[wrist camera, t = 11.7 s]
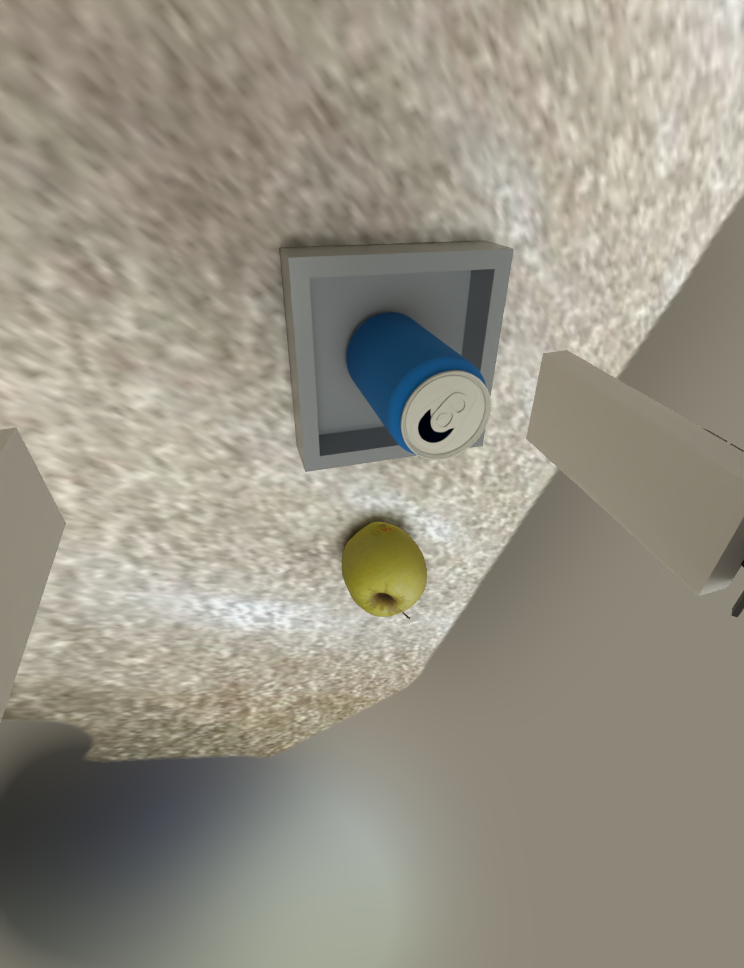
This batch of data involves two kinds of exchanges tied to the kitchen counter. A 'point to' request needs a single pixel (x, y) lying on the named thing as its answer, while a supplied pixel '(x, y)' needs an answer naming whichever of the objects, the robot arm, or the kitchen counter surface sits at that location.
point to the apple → (384, 569)
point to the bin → (361, 295)
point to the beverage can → (418, 386)
